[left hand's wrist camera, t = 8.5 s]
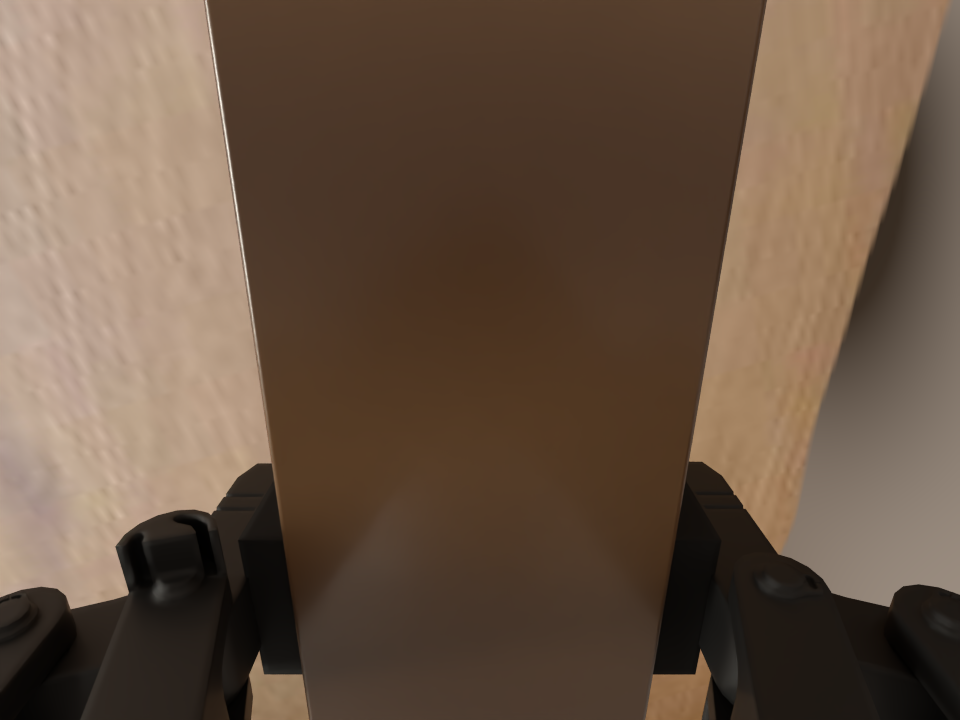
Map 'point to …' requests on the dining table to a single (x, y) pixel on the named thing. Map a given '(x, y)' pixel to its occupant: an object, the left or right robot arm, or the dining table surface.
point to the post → (481, 329)
